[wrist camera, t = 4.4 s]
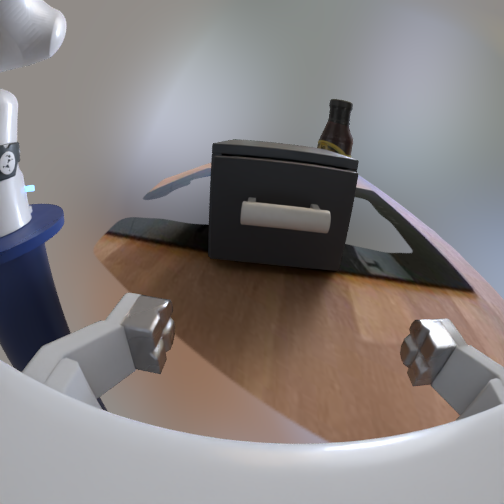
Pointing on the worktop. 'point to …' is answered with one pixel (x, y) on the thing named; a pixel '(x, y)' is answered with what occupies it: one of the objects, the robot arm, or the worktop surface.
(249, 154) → the cabinet
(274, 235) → the drawer
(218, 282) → the worktop surface
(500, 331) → the worktop surface
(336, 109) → the sauce bottle
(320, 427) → the worktop surface
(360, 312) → the worktop surface
